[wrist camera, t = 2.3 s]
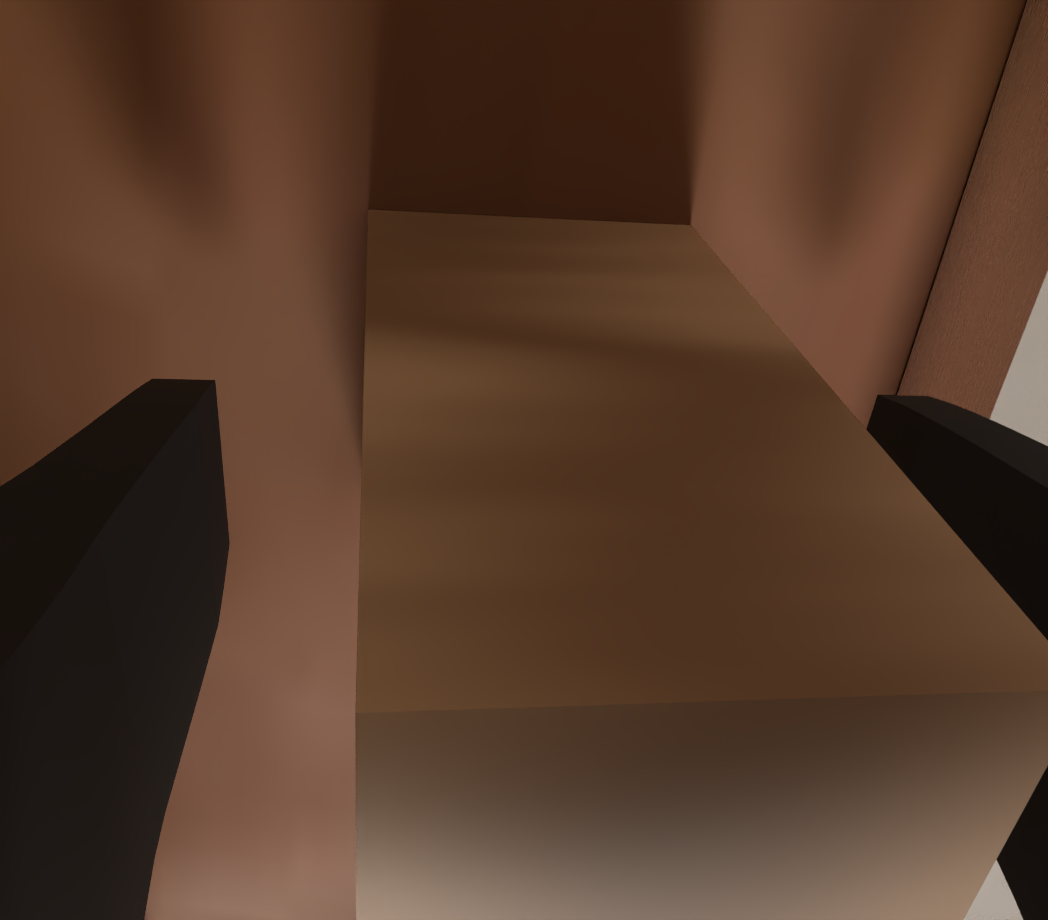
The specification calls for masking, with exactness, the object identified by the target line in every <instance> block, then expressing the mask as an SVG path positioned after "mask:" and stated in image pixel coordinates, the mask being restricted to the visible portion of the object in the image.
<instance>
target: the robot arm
mask: <svg viewBox="0 0 1048 920" xmlns="http://www.w3.org/2000/svg"><path fill="white" fill-rule="evenodd" d="M867 431H868V432H869V433H870V434H871V436H872V437H873V438H874V439H875V440H876V441H877V443H878V444H879V445H880V446H881V447H882V448H883V450H884V451H885V452H886V453H887V454H888V455H889V457H890V458H891V459H892V460H893V461H894V462H895V463H896V465H897V466H898V467H899V468H900V469H901V470H902V472H903V473H904V474H905V475H906V476H907V477H908V479H909V480H910V481H911V482H912V483H913V484H914V486H915V487H916V488H917V489H918V490H919V491H920V493H921V494H922V495H923V496H924V497H925V498H926V500H927V501H928V502H929V503H930V504H931V505H932V507H933V508H934V509H935V510H936V511H937V512H938V514H939V515H940V516H941V517H942V518H943V519H944V521H945V522H946V523H947V524H948V525H949V526H950V527H951V529H952V530H953V531H954V532H955V533H956V534H957V536H958V537H959V538H960V539H961V540H962V541H963V543H964V544H965V545H966V546H967V547H968V548H969V550H970V551H971V552H972V553H973V554H974V555H975V557H976V558H977V559H978V560H979V561H980V562H981V564H982V565H983V566H984V567H985V568H986V569H987V571H988V572H989V573H990V574H991V575H992V576H993V578H994V579H995V580H996V581H997V582H998V583H999V585H1000V586H1001V587H1002V588H1003V589H1004V590H1005V591H1006V593H1007V594H1008V595H1009V596H1010V597H1011V598H1012V600H1013V601H1014V602H1015V603H1016V604H1017V605H1018V607H1019V608H1020V609H1021V610H1022V611H1023V612H1024V614H1025V615H1026V616H1027V617H1028V618H1029V619H1030V621H1031V622H1032V623H1033V624H1034V625H1035V626H1036V628H1037V629H1038V630H1039V631H1040V632H1041V633H1042V635H1043V636H1044V637H1045V638H1046V639H1047V640H1048V446H1047V445H1044V444H1042V443H1040V442H1038V441H1036V440H1034V439H1032V438H1029V437H1027V436H1025V435H1023V434H1021V433H1019V432H1017V431H1015V430H1012V429H1010V428H1008V427H1006V426H1004V425H1002V424H999V423H997V422H995V421H993V420H990V419H988V418H986V417H983V416H981V415H979V414H977V413H974V412H972V411H969V410H967V409H964V408H962V407H959V406H957V405H954V404H951V403H948V402H946V401H942V400H939V399H936V398H933V397H929V396H904V395H877V398H876V401H875V405H874V408H873V411H872V414H871V417H870V420H869V423H868V426H867ZM228 551H229V532H228V521H227V510H226V498H225V487H224V475H223V464H222V453H221V441H220V430H219V419H218V407H217V396H216V384H215V380H184V379H151V380H150V381H148V382H146V383H145V384H143V385H142V386H140V387H139V388H137V389H136V390H135V391H133V392H132V393H130V394H129V395H128V396H126V397H125V398H124V399H122V400H121V401H120V402H118V403H117V404H116V405H114V406H113V407H112V408H110V409H109V410H108V411H106V412H105V413H104V414H102V415H101V416H100V417H98V418H97V419H96V420H94V421H93V422H92V423H90V424H89V425H88V426H86V427H85V428H84V429H82V430H81V431H80V432H78V433H77V434H75V435H74V436H73V437H71V438H70V439H69V440H67V441H66V442H65V443H63V444H62V445H60V446H59V447H58V448H56V449H55V450H54V451H52V452H51V453H49V454H48V455H47V456H45V457H44V458H43V459H41V460H40V461H38V462H37V463H36V464H34V465H33V466H31V467H30V468H28V469H27V470H25V471H24V472H22V473H21V474H19V475H18V476H16V477H14V478H13V479H11V480H10V481H8V482H7V483H5V484H4V485H2V486H1V487H0V920H144V916H145V910H146V904H147V899H148V893H149V887H150V881H151V875H152V870H153V864H154V858H155V854H156V849H157V845H158V841H159V837H160V832H161V828H162V824H163V820H164V815H165V811H166V808H167V804H168V801H169V797H170V794H171V790H172V787H173V783H174V780H175V776H176V773H177V769H178V766H179V762H180V759H181V755H182V752H183V748H184V745H185V741H186V738H187V734H188V731H189V727H190V724H191V720H192V717H193V713H194V710H195V706H196V703H197V699H198V696H199V692H200V689H201V685H202V681H203V678H204V674H205V671H206V667H207V663H208V660H209V656H210V653H211V649H212V645H213V642H214V638H215V634H216V631H217V627H218V623H219V616H220V609H221V602H222V595H223V589H224V581H225V574H226V566H227V558H228ZM996 860H997V862H998V864H999V866H1000V868H1001V871H1002V873H1003V875H1004V877H1005V879H1006V881H1007V884H1008V886H1009V888H1010V890H1011V892H1012V895H1013V897H1014V899H1015V901H1016V904H1017V906H1018V908H1019V911H1020V913H1021V916H1022V918H1023V920H1048V766H1047V768H1046V770H1045V771H1044V773H1043V775H1042V777H1041V779H1040V781H1039V782H1038V784H1037V786H1036V788H1035V790H1034V792H1033V793H1032V795H1031V797H1030V799H1029V801H1028V803H1027V804H1026V806H1025V808H1024V810H1023V812H1022V814H1021V815H1020V817H1019V819H1018V821H1017V823H1016V824H1015V826H1014V828H1013V830H1012V832H1011V834H1010V835H1009V837H1008V839H1007V841H1006V843H1005V845H1004V846H1003V848H1002V850H1001V852H1000V854H999V856H998V857H997V859H996Z"/></svg>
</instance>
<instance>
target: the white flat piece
mask: <svg viewBox="0 0 1048 920" xmlns="http://www.w3.org/2000/svg"><path fill="white" fill-rule="evenodd" d="M897 395H904V396H929V397H933V398H936V399H939V400H942V401H946V402H948V403H951V404H954V405H957V406H959V407H962V408H964V409H967V410H969V411H972V412H974V413H977V414H979V415H981V416H983V417H986V418H988V419H990V420H993V421H995V422H997V423H999V424H1002V425H1004V426H1006V427H1008V428H1010V429H1012V430H1015V431H1017V432H1019V433H1021V434H1023V435H1025V436H1027V437H1029V438H1032V439H1034V440H1036V441H1038V442H1040V443H1042V444H1044V445H1047V446H1048V0H1027V3H1026V6H1025V9H1024V12H1023V15H1022V18H1021V21H1020V24H1019V28H1018V31H1017V34H1016V37H1015V40H1014V43H1013V46H1012V49H1011V52H1010V55H1009V58H1008V61H1007V64H1006V67H1005V70H1004V73H1003V76H1002V79H1001V82H1000V85H999V88H998V91H997V94H996V97H995V100H994V103H993V106H992V109H991V112H990V115H989V118H988V121H987V124H986V128H985V131H984V134H983V137H982V140H981V143H980V146H979V149H978V152H977V155H976V158H975V161H974V164H973V167H972V170H971V173H970V176H969V179H968V182H967V185H966V188H965V191H964V194H963V197H962V200H961V203H960V206H959V209H958V212H957V215H956V218H955V221H954V224H953V227H952V231H951V234H950V237H949V240H948V243H947V246H946V249H945V252H944V255H943V258H942V261H941V264H940V267H939V270H938V273H937V276H936V279H935V282H934V285H933V288H932V291H931V294H930V297H929V300H928V303H927V306H926V309H925V312H924V315H923V318H922V321H921V324H920V327H919V330H918V334H917V337H916V340H915V343H914V346H913V349H912V352H911V355H910V358H909V361H908V364H907V367H906V370H905V373H904V376H903V379H902V382H901V385H900V388H899V391H898V394H897ZM964 920H1023V918H1022V916H1021V913H1020V911H1019V908H1018V906H1017V904H1016V901H1015V899H1014V897H1013V895H1012V892H1011V890H1010V888H1009V886H1008V884H1007V881H1006V879H1005V877H1004V875H1003V873H1002V871H1001V868H1000V866H999V864H998V862H997V860H996V861H995V863H994V865H993V867H992V868H991V870H990V872H989V874H988V876H987V878H986V879H985V881H984V883H983V885H982V887H981V889H980V890H979V892H978V894H977V896H976V898H975V900H974V901H973V903H972V905H971V907H970V909H969V911H968V912H967V914H966V916H965V918H964Z"/></svg>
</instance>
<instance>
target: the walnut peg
mask: <svg viewBox="0 0 1048 920" xmlns="http://www.w3.org/2000/svg"><path fill="white" fill-rule="evenodd" d="M1047 766H1048V640H1047V639H1046V638H1045V637H1044V636H1043V635H1042V633H1041V632H1040V631H1039V630H1038V629H1037V628H1036V626H1035V625H1034V624H1033V623H1032V622H1031V621H1030V619H1029V618H1028V617H1027V616H1026V615H1025V614H1024V612H1023V611H1022V610H1021V609H1020V608H1019V607H1018V605H1017V604H1016V603H1015V602H1014V601H1013V600H1012V598H1011V597H1010V596H1009V595H1008V594H1007V593H1006V591H1005V590H1004V589H1003V588H1002V587H1001V586H1000V585H999V583H998V582H997V581H996V580H995V579H994V578H993V576H992V575H991V574H990V573H989V572H988V571H987V569H986V568H985V567H984V566H983V565H982V564H981V562H980V561H979V560H978V559H977V558H976V557H975V555H974V554H973V553H972V552H971V551H970V550H969V548H968V547H967V546H966V545H965V544H964V543H963V541H962V540H961V539H960V538H959V537H958V536H957V534H956V533H955V532H954V531H953V530H952V529H951V527H950V526H949V525H948V524H947V523H946V522H945V521H944V519H943V518H942V517H941V516H940V515H939V514H938V512H937V511H936V510H935V509H934V508H933V507H932V505H931V504H930V503H929V502H928V501H927V500H926V498H925V497H924V496H923V495H922V494H921V493H920V491H919V490H918V489H917V488H916V487H915V486H914V484H913V483H912V482H911V481H910V480H909V479H908V477H907V476H906V475H905V474H904V473H903V472H902V470H901V469H900V468H899V467H898V466H897V465H896V463H895V462H894V461H893V460H892V459H891V458H890V457H889V455H888V454H887V453H886V452H885V451H884V450H883V448H882V447H881V446H880V445H879V444H878V443H877V441H876V440H875V439H874V438H873V437H872V436H871V434H870V433H869V432H868V431H867V430H866V429H865V427H864V426H863V425H862V424H861V423H860V422H859V420H858V419H857V418H856V417H855V416H854V415H853V413H852V412H851V411H850V410H849V409H848V408H847V406H846V405H845V404H844V403H843V402H842V401H841V400H840V398H839V397H838V396H837V395H836V394H835V393H834V391H833V390H832V389H831V388H830V387H829V386H828V384H827V383H826V382H825V381H824V380H823V379H822V377H821V376H820V375H819V374H818V373H817V372H816V370H815V369H814V368H813V367H812V366H811V365H810V363H809V362H808V361H807V360H806V359H805V358H804V356H803V355H802V354H801V353H800V352H799V351H798V349H797V348H796V347H795V346H794V345H793V344H792V342H791V341H790V340H789V339H788V338H787V337H786V336H785V334H784V333H783V332H782V331H781V330H780V329H779V327H778V326H777V325H776V324H775V323H774V322H773V320H772V319H771V318H770V317H769V316H768V315H767V313H766V312H765V311H764V310H763V309H762V308H761V306H760V305H759V304H758V303H757V302H756V301H755V299H754V298H753V297H752V296H751V295H750V294H749V292H748V291H747V290H746V289H745V288H744V287H743V285H742V284H741V283H740V282H739V281H738V280H737V278H736V277H735V276H734V275H733V274H732V273H731V272H730V270H729V269H728V268H727V267H726V266H725V265H724V263H723V262H722V261H721V260H720V259H719V258H718V256H717V255H716V254H715V253H714V252H713V251H712V249H711V248H710V247H709V246H708V245H707V244H706V242H705V241H704V240H703V239H702V238H701V237H700V235H699V234H698V233H697V232H696V231H695V230H694V228H693V227H692V226H691V225H673V224H653V223H633V222H612V221H592V220H571V219H551V218H531V217H510V216H490V215H470V214H449V213H429V212H408V211H388V210H368V228H367V268H366V309H365V349H364V390H363V430H362V471H361V511H360V552H359V592H358V633H357V674H356V920H964V918H965V916H966V914H967V912H968V911H969V909H970V907H971V905H972V903H973V901H974V900H975V898H976V896H977V894H978V892H979V890H980V889H981V887H982V885H983V883H984V881H985V879H986V878H987V876H988V874H989V872H990V870H991V868H992V867H993V865H994V863H995V861H996V859H997V857H998V856H999V854H1000V852H1001V850H1002V848H1003V846H1004V845H1005V843H1006V841H1007V839H1008V837H1009V835H1010V834H1011V832H1012V830H1013V828H1014V826H1015V824H1016V823H1017V821H1018V819H1019V817H1020V815H1021V814H1022V812H1023V810H1024V808H1025V806H1026V804H1027V803H1028V801H1029V799H1030V797H1031V795H1032V793H1033V792H1034V790H1035V788H1036V786H1037V784H1038V782H1039V781H1040V779H1041V777H1042V775H1043V773H1044V771H1045V770H1046V768H1047Z"/></svg>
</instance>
